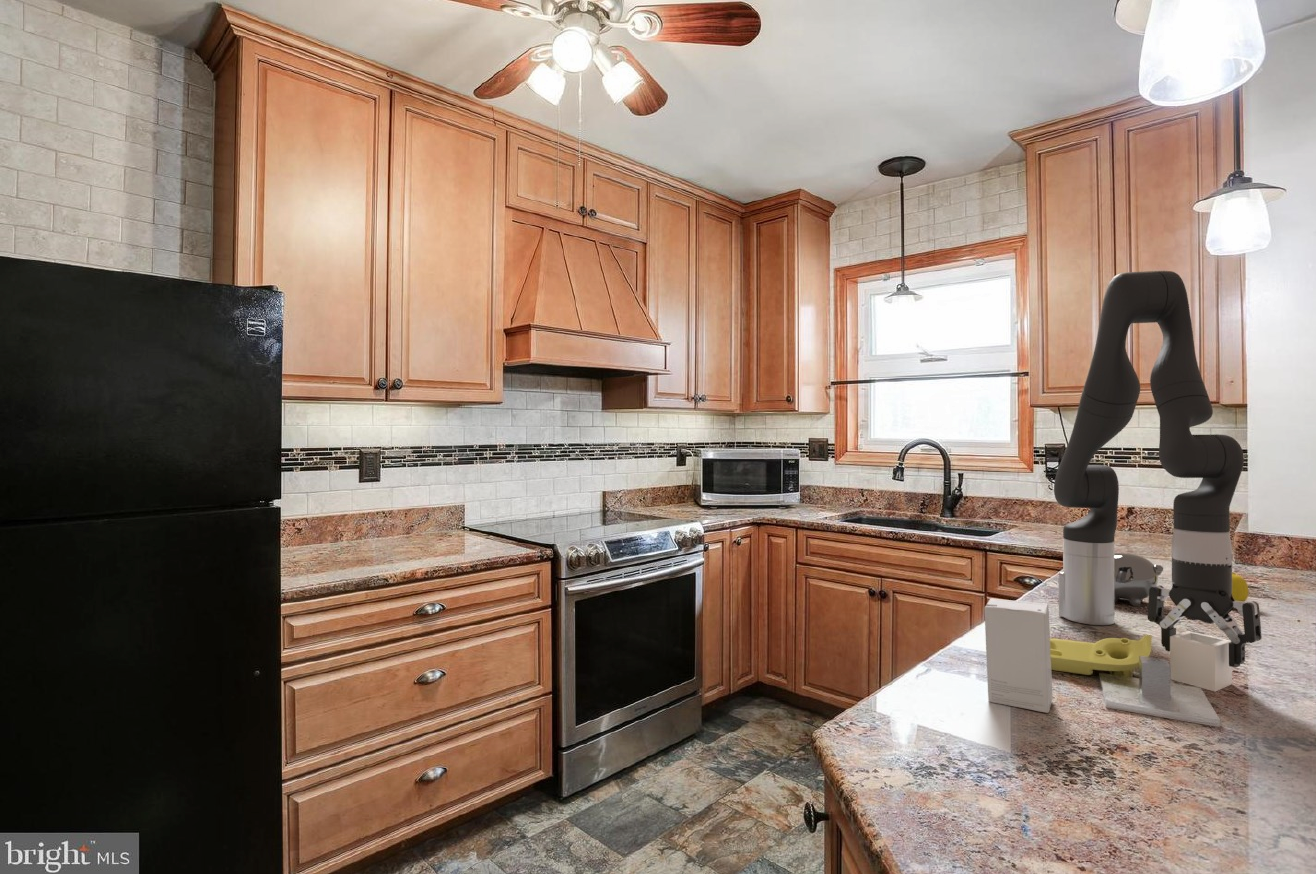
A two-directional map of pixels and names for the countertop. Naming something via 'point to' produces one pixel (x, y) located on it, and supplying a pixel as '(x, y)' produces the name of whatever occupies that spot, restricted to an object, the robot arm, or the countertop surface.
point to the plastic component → (1099, 655)
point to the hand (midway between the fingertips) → (1201, 658)
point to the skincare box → (1018, 654)
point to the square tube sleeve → (1200, 660)
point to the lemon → (1239, 588)
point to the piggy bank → (1134, 577)
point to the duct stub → (1157, 694)
